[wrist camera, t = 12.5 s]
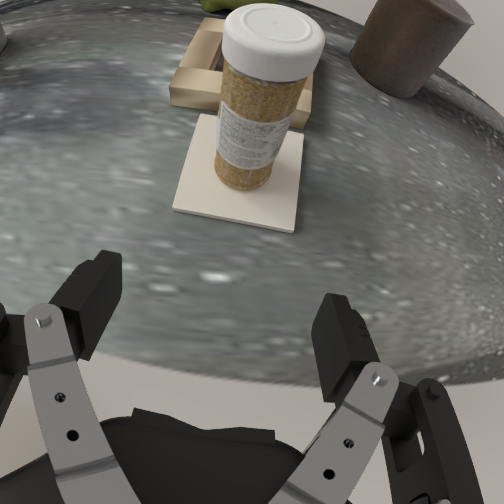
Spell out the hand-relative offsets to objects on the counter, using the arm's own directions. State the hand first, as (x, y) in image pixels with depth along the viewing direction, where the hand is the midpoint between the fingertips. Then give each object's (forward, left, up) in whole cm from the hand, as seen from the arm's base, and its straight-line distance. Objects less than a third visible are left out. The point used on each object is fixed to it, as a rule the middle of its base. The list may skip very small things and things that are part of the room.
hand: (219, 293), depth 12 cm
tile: (0, +11, -10) cm, 15 cm away
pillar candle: (+15, +31, -10) cm, 35 cm away
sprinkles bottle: (0, +11, -9) cm, 14 cm away
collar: (-1, +23, -10) cm, 25 cm away
